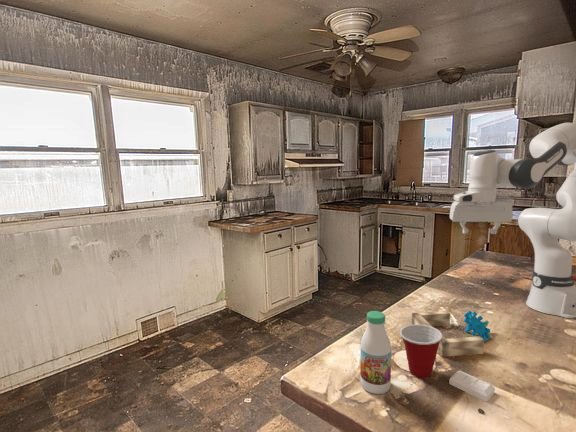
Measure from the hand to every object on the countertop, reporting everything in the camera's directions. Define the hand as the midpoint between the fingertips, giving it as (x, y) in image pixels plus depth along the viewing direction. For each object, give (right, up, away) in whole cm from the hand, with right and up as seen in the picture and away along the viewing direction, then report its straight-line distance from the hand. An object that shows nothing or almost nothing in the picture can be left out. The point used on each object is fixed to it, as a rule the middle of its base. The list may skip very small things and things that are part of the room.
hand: (479, 233), depth 119 cm
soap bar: (-23, -39, -35) cm, 57 cm away
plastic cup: (-34, -37, -28) cm, 58 cm away
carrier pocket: (-18, -34, -11) cm, 40 cm away
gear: (-7, -34, -11) cm, 36 cm away
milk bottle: (-47, -39, -33) cm, 70 cm away
